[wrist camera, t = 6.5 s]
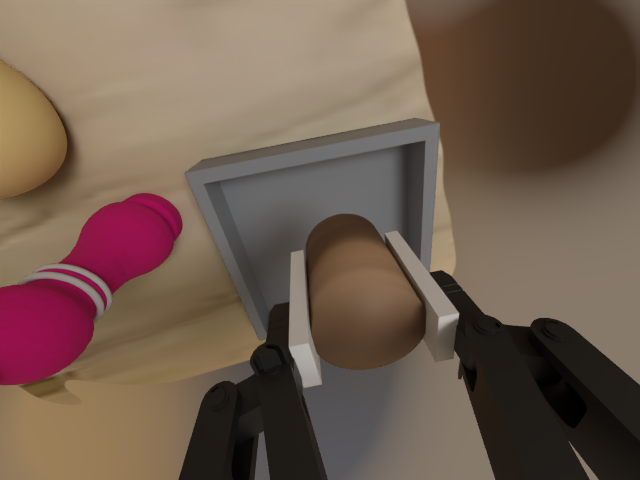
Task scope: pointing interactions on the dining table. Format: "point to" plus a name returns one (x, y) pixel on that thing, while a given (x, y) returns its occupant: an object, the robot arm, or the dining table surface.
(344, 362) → the walnut cylinder
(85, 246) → the pepper mill
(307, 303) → the robot arm
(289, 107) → the dining table surface
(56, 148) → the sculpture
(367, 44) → the dining table surface
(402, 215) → the tray
